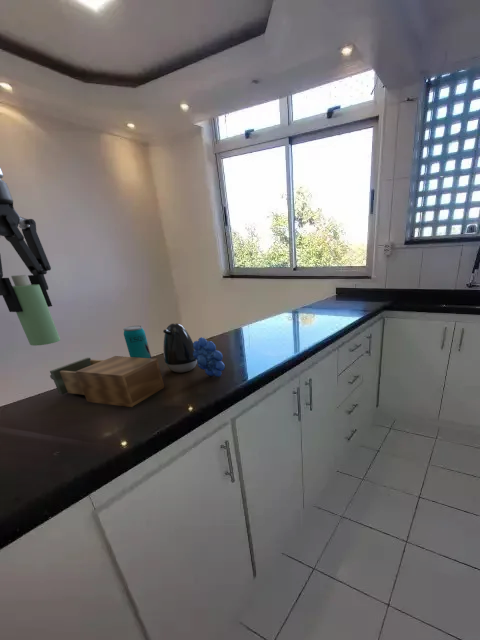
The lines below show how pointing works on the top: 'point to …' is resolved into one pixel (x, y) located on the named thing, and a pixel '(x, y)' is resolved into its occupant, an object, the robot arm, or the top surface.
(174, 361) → the pump dispenser
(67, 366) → the drawer
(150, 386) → the cabinet
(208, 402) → the top surface
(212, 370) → the grapes
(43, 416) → the top surface
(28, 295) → the soap bottle
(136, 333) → the beverage can
